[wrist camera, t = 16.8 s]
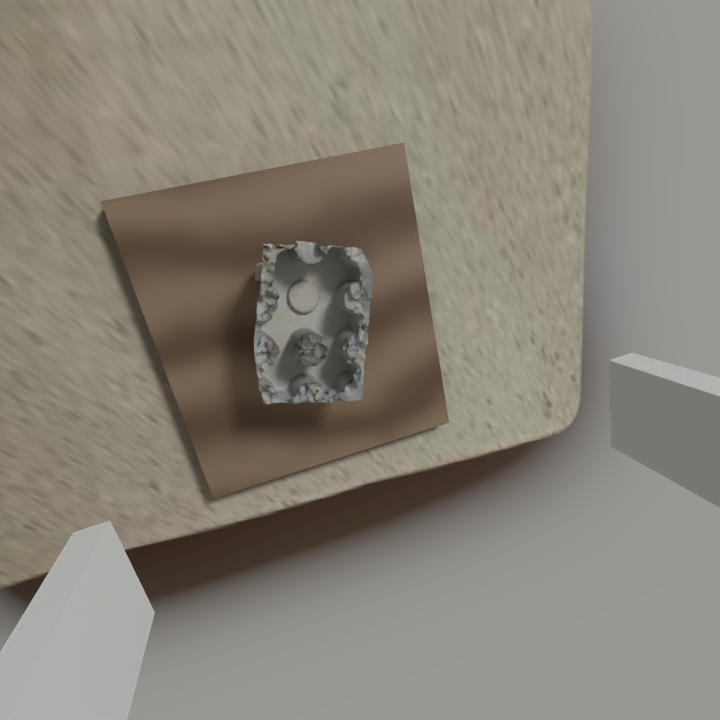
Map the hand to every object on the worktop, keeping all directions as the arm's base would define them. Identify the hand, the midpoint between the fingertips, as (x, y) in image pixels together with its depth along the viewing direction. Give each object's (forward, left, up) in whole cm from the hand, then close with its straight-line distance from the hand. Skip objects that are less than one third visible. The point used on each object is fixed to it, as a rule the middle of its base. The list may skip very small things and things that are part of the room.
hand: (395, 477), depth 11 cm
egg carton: (0, -2, -22) cm, 22 cm away
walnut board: (0, 0, -23) cm, 23 cm away
